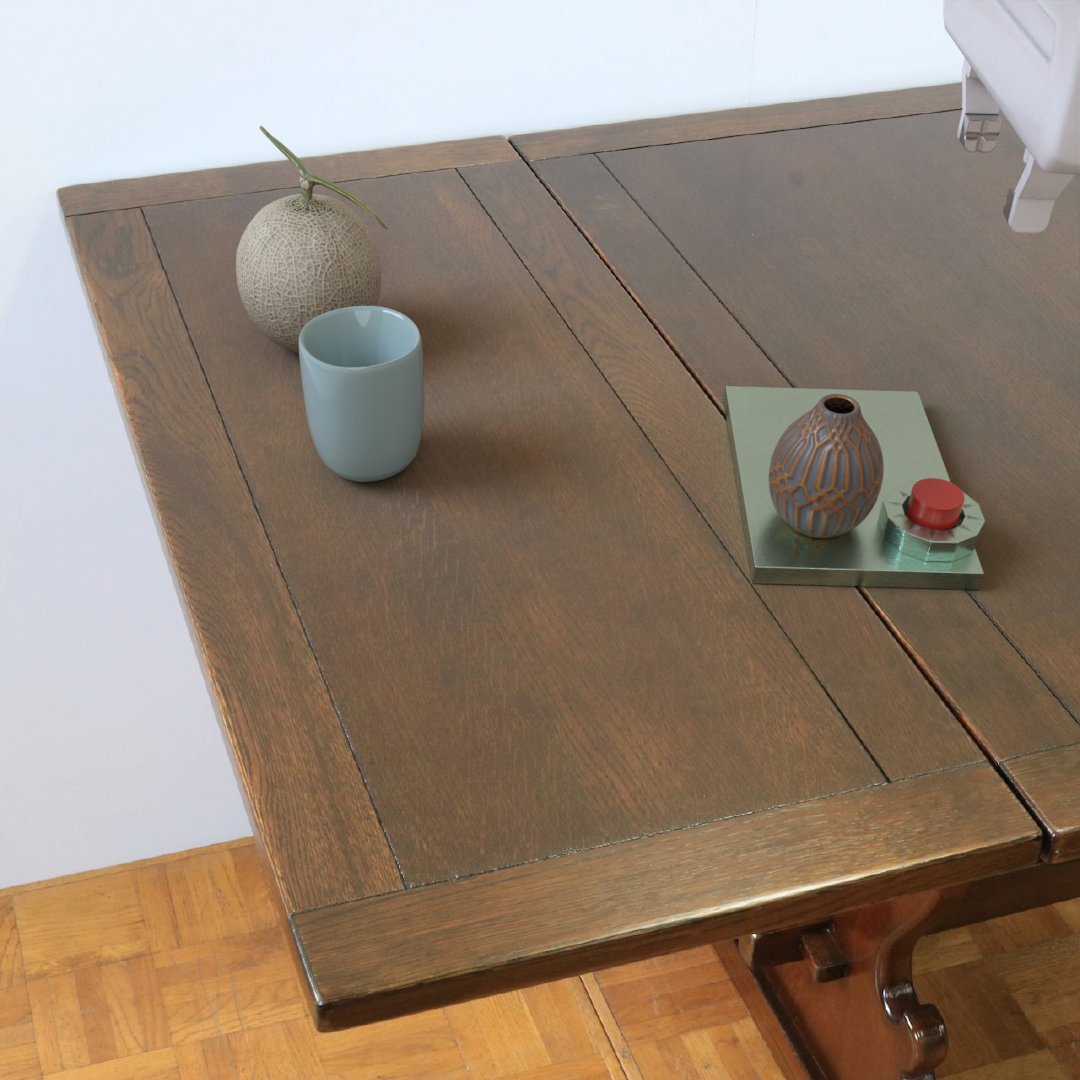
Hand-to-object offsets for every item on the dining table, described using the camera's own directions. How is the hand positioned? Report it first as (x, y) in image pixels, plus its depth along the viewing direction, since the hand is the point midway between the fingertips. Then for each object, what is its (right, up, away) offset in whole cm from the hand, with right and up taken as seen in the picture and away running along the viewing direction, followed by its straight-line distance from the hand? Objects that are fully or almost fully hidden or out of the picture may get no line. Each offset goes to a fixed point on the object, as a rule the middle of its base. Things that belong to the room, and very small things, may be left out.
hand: (997, 184), depth 68 cm
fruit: (-40, -3, +35) cm, 53 cm away
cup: (-35, -13, +23) cm, 44 cm away
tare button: (+1, -17, +16) cm, 23 cm away
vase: (-6, -17, +17) cm, 25 cm away
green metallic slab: (-3, -15, +22) cm, 26 cm away
